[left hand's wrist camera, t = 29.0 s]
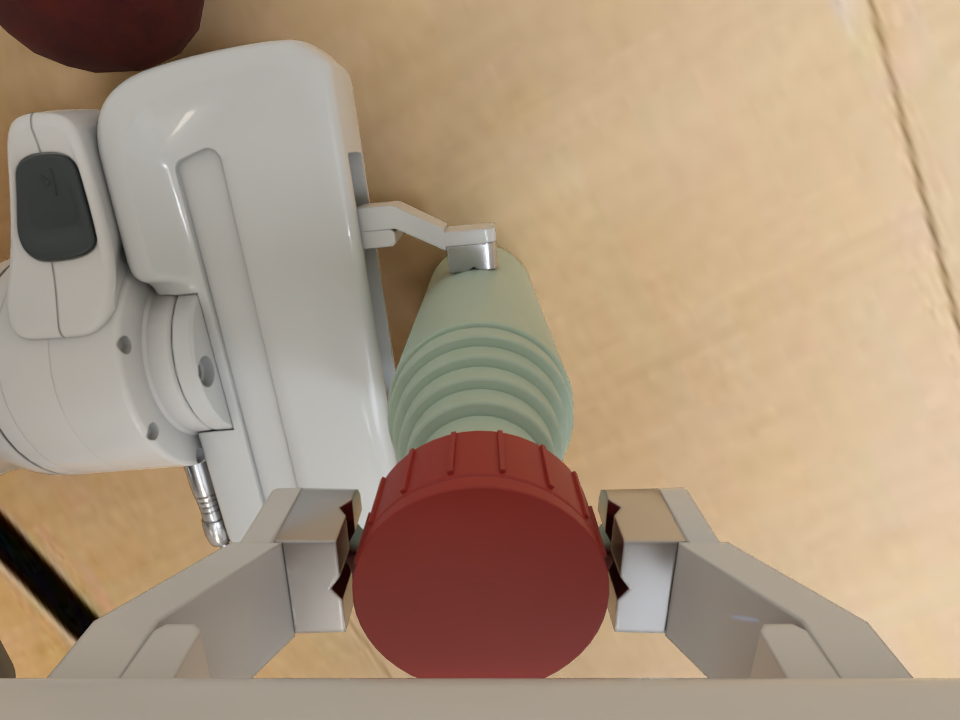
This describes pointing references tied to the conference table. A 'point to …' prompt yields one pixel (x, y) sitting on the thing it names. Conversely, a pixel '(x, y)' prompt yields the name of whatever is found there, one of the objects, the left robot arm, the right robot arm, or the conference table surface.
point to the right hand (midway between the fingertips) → (503, 325)
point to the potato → (103, 30)
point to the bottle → (480, 363)
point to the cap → (480, 561)
